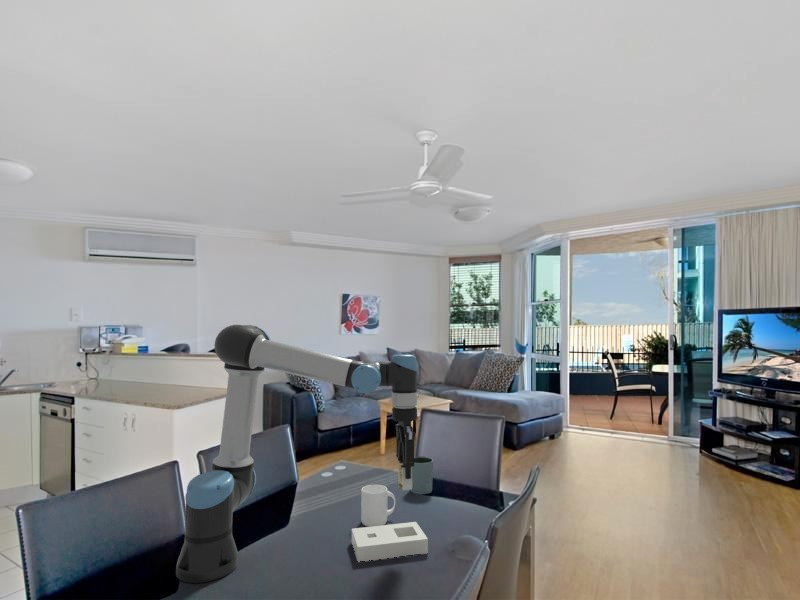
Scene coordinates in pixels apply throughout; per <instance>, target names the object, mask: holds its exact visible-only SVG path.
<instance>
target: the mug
mask: <svg viewBox="0 0 800 600" xmlns="http://www.w3.org/2000/svg"><path fill="white" fill-rule="evenodd" d="M360 493H361V498H360V499H361V506H360V509H361V511H360V512H361V513H360V517H361V519H360V520H361V523H362V525H363V526H365V527H372V526H381V525H387V524H386V523H387V522H388V516H390V515H391V514H393V512H394V510H395V507H396V496H395V495H394V493H392V492H391V491H389V490H388V488H387V486H385V485H382V484H369V485H365V486H363V487H362V488H361V492H360ZM388 497H391V498H392V499H393V503H394V504H393V506H392V508H391V509H390V508H389V509H388Z"/></svg>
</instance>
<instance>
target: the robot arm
mask: <svg viewBox="0 0 800 600" xmlns="http://www.w3.org/2000/svg"><path fill="white" fill-rule="evenodd" d="M214 351H215V353H216V356H217V357H218V359H219V360H220V361H222V362H223V363H224V368H223V369H224V371H226V372H227V374H228V377H227V388H226V393H225V394H226V395H225V401H224V402H225V404H224V411H223V419H222V426H221V427H222V429H221V434H220V435H221V437H220V444H219V451H218V452H219V454H218V455H217V456H216V457H215V458H213V459H212V465H211V470H210V471H206V472H204V473H200V474H198V475H196V476H195V477H193V478H191V480H190V481H189V482H188V483H187V486H186V493H185V496H184V497H185V518H184V519H185V522H184V543H182V547H181V549H180V550H181V551H180V554H179V556H178V559H177V562H176V565H175V577H176V578H177V579H178V580H179V581H181V582H184V583H189V584H197V583H198V584H200V583H206V582H211V581H216V580H218V579H221V578H223V577H225V576H227V575H229V574H231V573H233V571H234V570H236V568H237V566H238V565H239V553H238V549H237V545H236V542H235V539H234V536H233V513H234V511H235V510H236V509H237V508H238V507H240V506H241V504H242V503H243V502H246V500H247V499H249V497H250V496H251V495H252V493H253V491H254V489H255V486H256V483H257V475H256V471H255V469H254V458H253V457H252V456H251V454H250V453H251V451H250V450H251V442H252V433H253V427H254V425H253V424H254V416H255V408H256V400H257V392H258V391H257V389H258V384H259V383H258V381H259V376H260V375H261V374H263V373H264V372H265V369H267V370H268V369H269V370H273V371H277V372H282V373H286V374H290V375H294V376H297V377H303V378H306V379H310V380H315V381H319V382H323V383H328V384H332V385H337V386H340V387H341V386H342V387H345V388H349V389H352V390H356V392H358V393H360V394H371V393H373V392H375V391H376V390H377V389H378V388H379V387H388V388H389V387H391V389H392V390H391V406H393V407H392V408H391V419H392V420H393V421H395V422H398V423H397V424H395V434H396V436H395V439H396V440H395V441H396V442H395V445H396V448H395V450H396V458H397V461H398V462H397V464H398V463H399V462H403V465H401V468H402V491H409V490H410V491H411V490H412V466H414V457H415V437H416V436H415V435H416V434H415V431H414V428H413V426H412V423H413V421H414V422H415V421H417V420H418V407H417V405H418V398H419V395H418V368H417V366H418V364H417V357H416V356H415V355H413V354H393V355H391V360H389V361H370V360H369V361H368V360H367V361H366V360H362V361H358V360H353V359H349V358H344V357H341V356H337V355H333V354H329V353H324V352H320V351H315V350H311V349H307V348H302V347H299V346H295V345H290V344H286V343H281V342H278V341H274V340H271V338H270V335H269V334H268V332H267V331H266V330H264V329H263V328H261V327H258V326H257V325H251V324H250V325H249V324H247V325H246V324H231V325H229V326H226V327H223V329H222V330H221V331H219V333H218V334H217V336H216V338H215V340H214ZM397 472H398V474H397V475H398V476H397V477H398V484H399V470H398V471H397Z"/></svg>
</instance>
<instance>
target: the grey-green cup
mask: <svg viewBox="0 0 800 600" xmlns="http://www.w3.org/2000/svg"><path fill="white" fill-rule="evenodd" d="M433 470H434V459H433V458H432V457H429V456H414V466H412V484H413V488H412V490H410V492H411V493H412V494H416V495H426V494H427V495H428V494H431V493H432V491H433V479H434V477H433V476H434V475H433V474H434V471H433Z"/></svg>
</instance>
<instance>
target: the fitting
mask: <svg viewBox="0 0 800 600" xmlns="http://www.w3.org/2000/svg"><path fill="white" fill-rule="evenodd" d="M398 462H399V461H398ZM398 462H397V464H398V467H397V468H398V470H399V484H398V486H397V487H398V489H399V490H402V468H401V465H403V462H399V463H398ZM412 488H413V484H412ZM402 491H403V490H402Z"/></svg>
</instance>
